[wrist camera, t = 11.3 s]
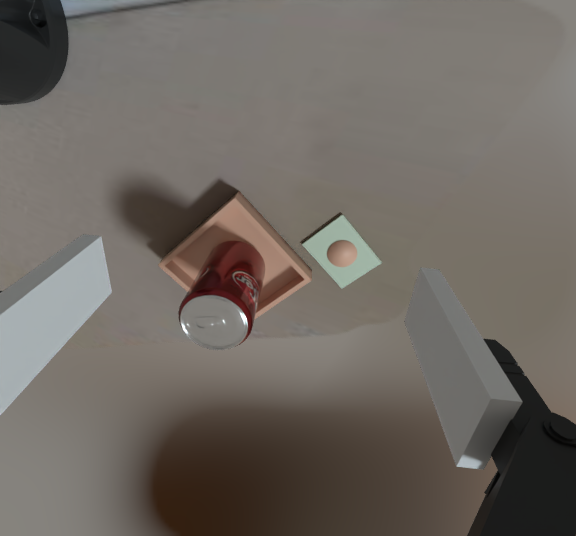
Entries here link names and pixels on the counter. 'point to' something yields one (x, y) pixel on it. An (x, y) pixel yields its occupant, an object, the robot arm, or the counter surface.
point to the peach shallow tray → (249, 229)
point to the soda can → (224, 297)
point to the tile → (341, 251)
